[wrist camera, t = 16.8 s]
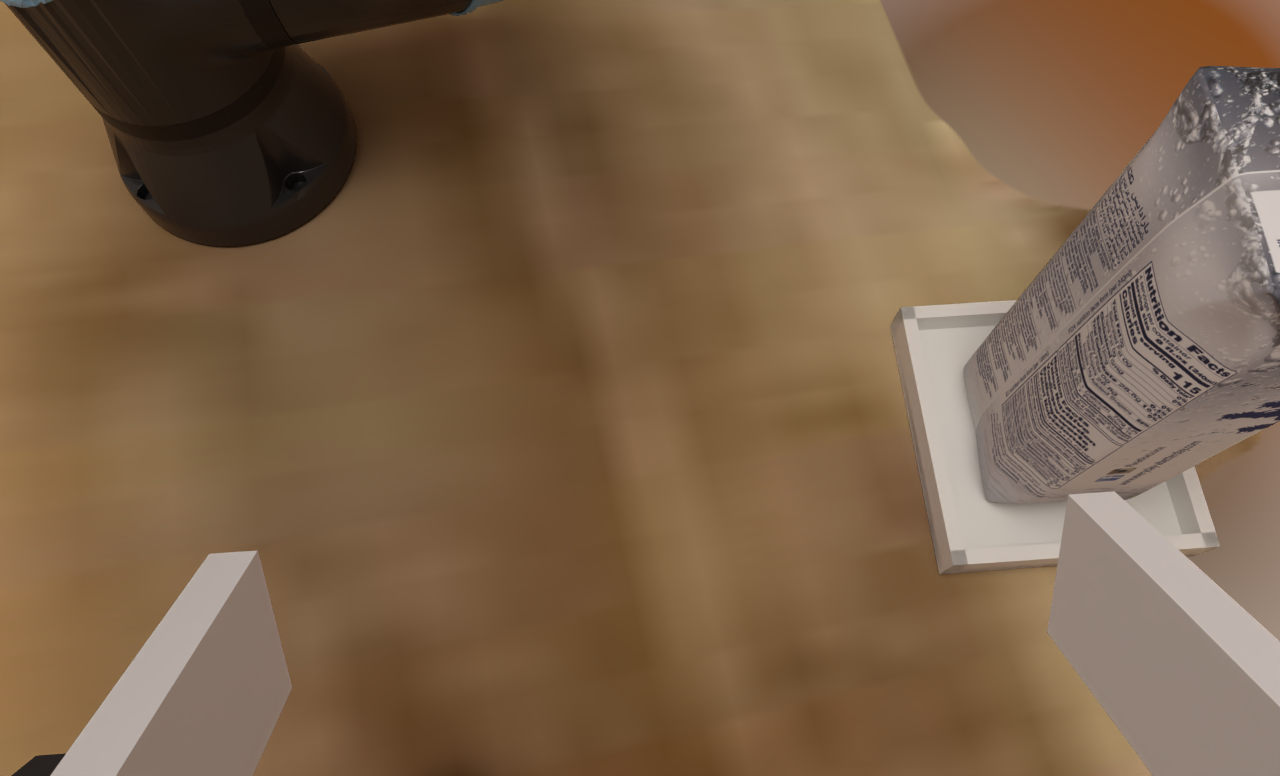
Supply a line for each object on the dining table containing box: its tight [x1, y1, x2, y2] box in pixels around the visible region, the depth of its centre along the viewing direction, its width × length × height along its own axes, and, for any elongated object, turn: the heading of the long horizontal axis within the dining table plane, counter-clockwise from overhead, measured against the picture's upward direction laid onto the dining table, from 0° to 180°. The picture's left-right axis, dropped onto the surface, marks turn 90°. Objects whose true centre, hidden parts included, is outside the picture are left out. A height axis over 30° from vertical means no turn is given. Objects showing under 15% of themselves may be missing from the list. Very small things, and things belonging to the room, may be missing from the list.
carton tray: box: [890, 300, 1220, 574], centre depth 52 cm, size 16×15×2 cm
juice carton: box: [964, 66, 1280, 503], centre depth 40 cm, size 9×10×27 cm
